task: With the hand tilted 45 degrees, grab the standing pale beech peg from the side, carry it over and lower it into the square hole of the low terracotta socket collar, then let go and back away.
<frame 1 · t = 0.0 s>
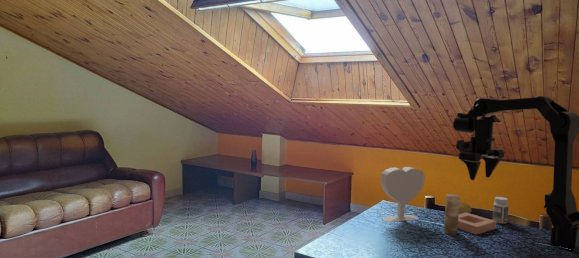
hand: (480, 178, 146), 15 cm above the table, tool pointing down, fingers open, 9 cm apart
beech peg: (450, 232, 134), on the table
heart sculpture: (400, 218, 147), on the table
pill bottle: (499, 222, 146), on the table
bread roll: (457, 212, 157), on the table
socket collar: (470, 226, 140), on the table
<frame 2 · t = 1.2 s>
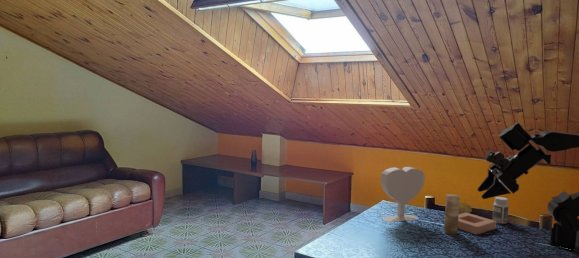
hand: (480, 194, 130), 13 cm above the table, tool tilted 45°, fingers open, 9 cm apart
nothing on the table moved.
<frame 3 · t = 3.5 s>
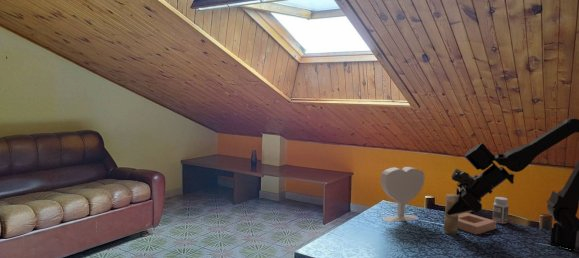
hand: (447, 211, 134), 7 cm above the table, tool tilted 45°, fingers closed on beech peg, 4 cm apart
beech peg: (450, 232, 134), on the table, touching gripper
everything else where it was.
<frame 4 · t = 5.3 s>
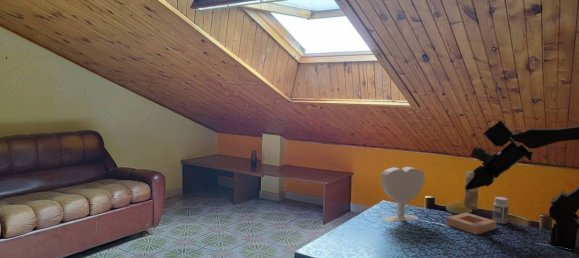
hand: (467, 187, 139), 13 cm above the table, tool tilted 45°, fingers closed on beech peg, 4 cm apart
beech peg: (470, 207, 139), point 7 cm above the table, touching gripper
everything else where it was.
when the fingers open (8 cm above the table, at t = 7.0 s): beech peg drops 1 cm, resting in socket collar.
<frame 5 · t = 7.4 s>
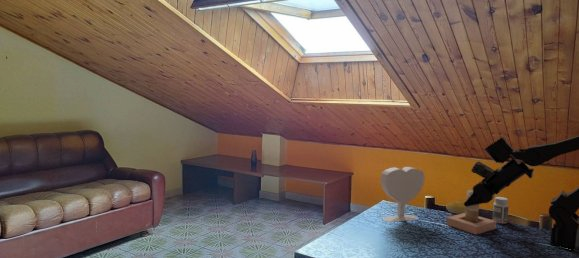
hand: (468, 202, 140), 8 cm above the table, tool tilted 45°, fingers open, 9 cm apart
beech peg: (470, 226, 140), resting in socket collar
everything else where it was.
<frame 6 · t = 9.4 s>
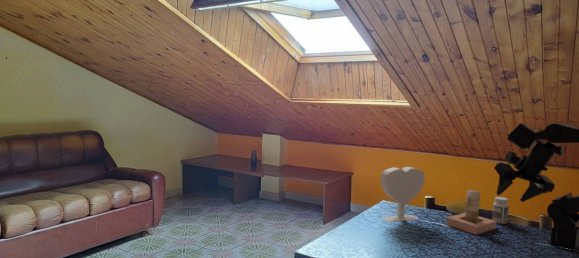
hand: (509, 197, 135), 11 cm above the table, tool tilted 30°, fingers open, 9 cm apart
nothing on the table moved.
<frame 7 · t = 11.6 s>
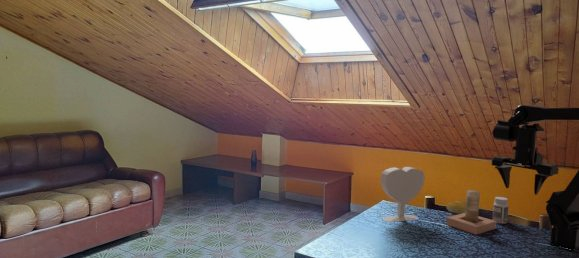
hand: (521, 191, 136), 13 cm above the table, tool pointing down, fingers open, 9 cm apart
nothing on the table moved.
at the end: beech peg 0.0 cm off-centre on the socket collar, point 0.0 cm above the socket collar's base; beech peg tilted 0°; the gripper is holding nothing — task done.
